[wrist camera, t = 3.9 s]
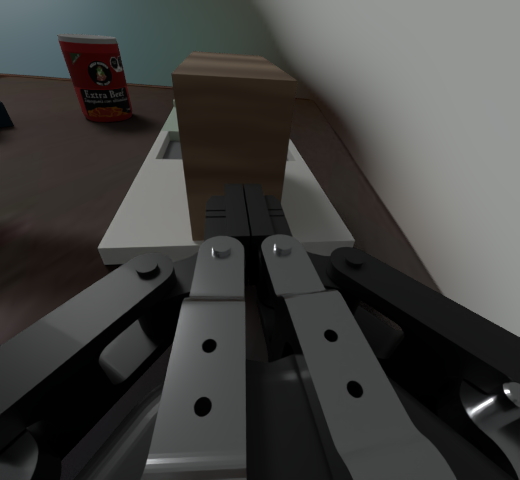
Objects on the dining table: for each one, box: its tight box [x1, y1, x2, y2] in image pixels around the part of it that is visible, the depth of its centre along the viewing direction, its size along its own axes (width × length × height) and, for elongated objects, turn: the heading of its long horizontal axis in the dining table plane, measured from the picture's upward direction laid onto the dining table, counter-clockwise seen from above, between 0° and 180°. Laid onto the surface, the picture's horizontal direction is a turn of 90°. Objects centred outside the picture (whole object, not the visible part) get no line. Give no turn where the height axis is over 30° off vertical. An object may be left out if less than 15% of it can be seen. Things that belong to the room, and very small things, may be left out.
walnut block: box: [172, 51, 297, 241], centre depth 21 cm, size 14×6×10 cm, turn 7°
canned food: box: [57, 34, 132, 122], centre depth 42 cm, size 8×8×11 cm
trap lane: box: [98, 100, 355, 265], centre depth 34 cm, size 40×18×2 cm, turn 7°
